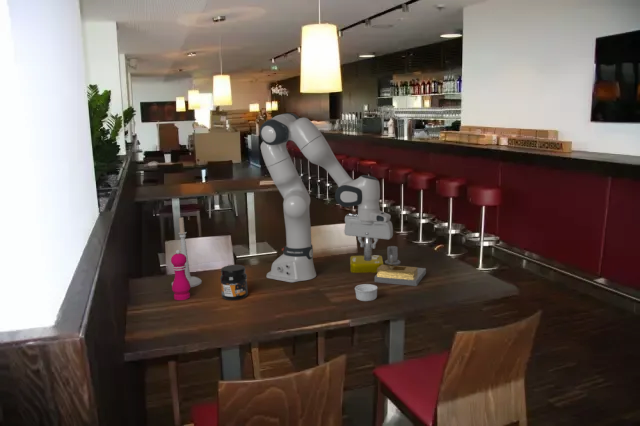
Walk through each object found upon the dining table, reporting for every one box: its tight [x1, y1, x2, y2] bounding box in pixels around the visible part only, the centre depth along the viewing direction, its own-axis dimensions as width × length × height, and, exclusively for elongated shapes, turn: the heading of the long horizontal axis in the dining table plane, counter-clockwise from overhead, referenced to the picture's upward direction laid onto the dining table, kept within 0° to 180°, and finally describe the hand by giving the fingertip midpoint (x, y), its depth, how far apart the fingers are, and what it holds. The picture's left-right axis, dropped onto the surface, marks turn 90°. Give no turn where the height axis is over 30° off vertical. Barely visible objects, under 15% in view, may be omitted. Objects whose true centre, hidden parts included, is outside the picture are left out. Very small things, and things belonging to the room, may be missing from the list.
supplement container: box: [219, 264, 249, 301], centre depth 210 cm, size 10×10×12 cm
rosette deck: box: [373, 245, 427, 287], centre depth 226 cm, size 18×18×12 cm
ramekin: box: [354, 283, 378, 302], centre depth 204 cm, size 9×9×4 cm
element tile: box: [349, 254, 384, 274], centre depth 244 cm, size 15×15×5 cm
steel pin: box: [363, 233, 373, 261], centre depth 218 cm, size 4×4×12 cm
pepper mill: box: [170, 249, 191, 301], centre depth 210 cm, size 7×7×20 cm
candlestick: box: [171, 216, 202, 288], centre depth 228 cm, size 13×13×30 cm
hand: (368, 247), depth 218 cm, fingers closed on steel pin, 3 cm apart
